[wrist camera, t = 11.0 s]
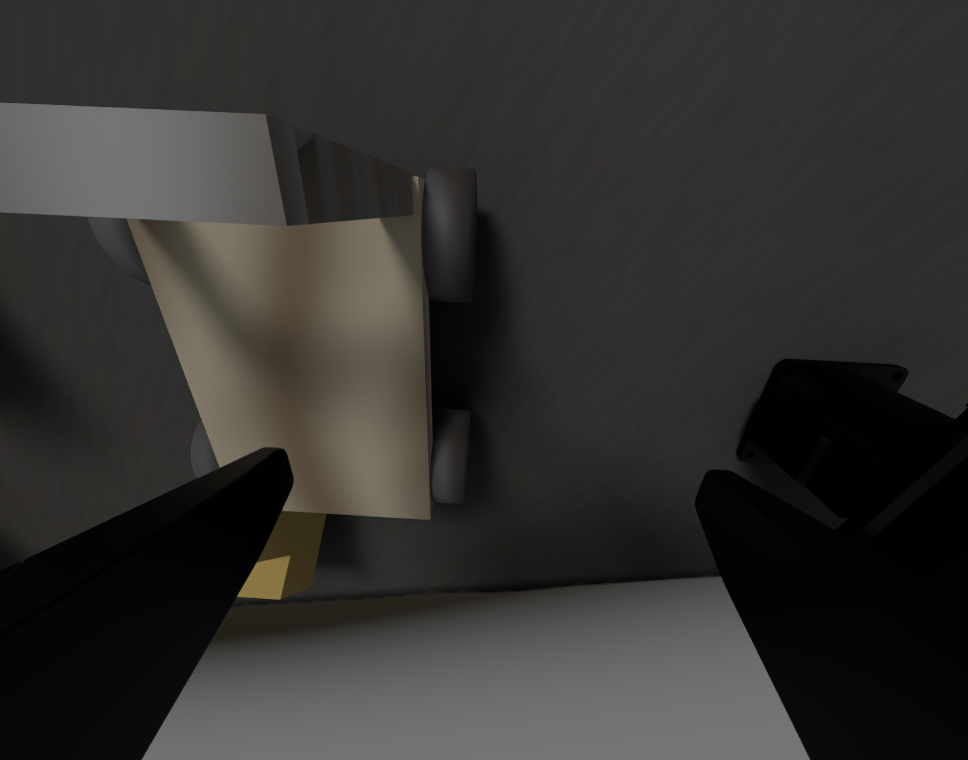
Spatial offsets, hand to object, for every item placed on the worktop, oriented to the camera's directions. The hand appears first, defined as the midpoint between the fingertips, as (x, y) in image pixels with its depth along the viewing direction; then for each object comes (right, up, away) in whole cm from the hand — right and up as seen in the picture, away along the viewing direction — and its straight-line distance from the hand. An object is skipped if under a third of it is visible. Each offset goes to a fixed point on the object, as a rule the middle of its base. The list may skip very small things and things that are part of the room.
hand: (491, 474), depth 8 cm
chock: (-13, -5, +14) cm, 20 cm away
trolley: (-7, +4, +12) cm, 14 cm away
